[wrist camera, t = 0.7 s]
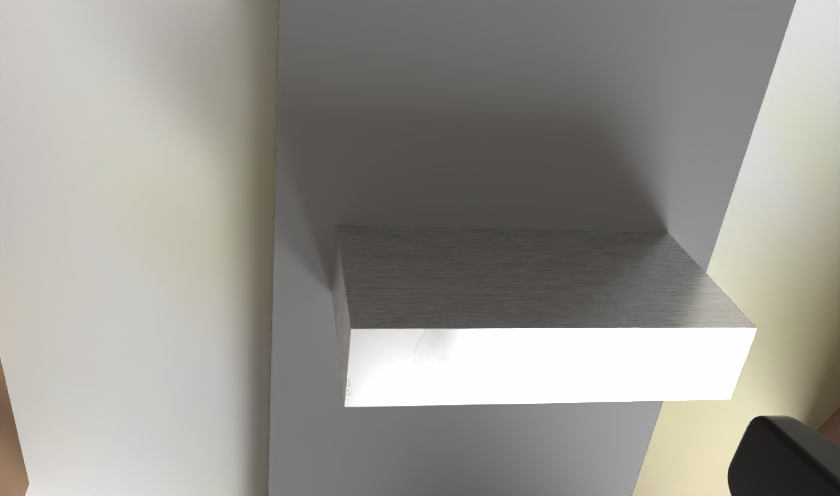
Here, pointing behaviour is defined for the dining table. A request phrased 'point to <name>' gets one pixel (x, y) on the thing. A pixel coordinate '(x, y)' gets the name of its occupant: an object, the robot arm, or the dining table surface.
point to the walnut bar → (10, 448)
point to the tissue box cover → (832, 428)
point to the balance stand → (502, 237)
